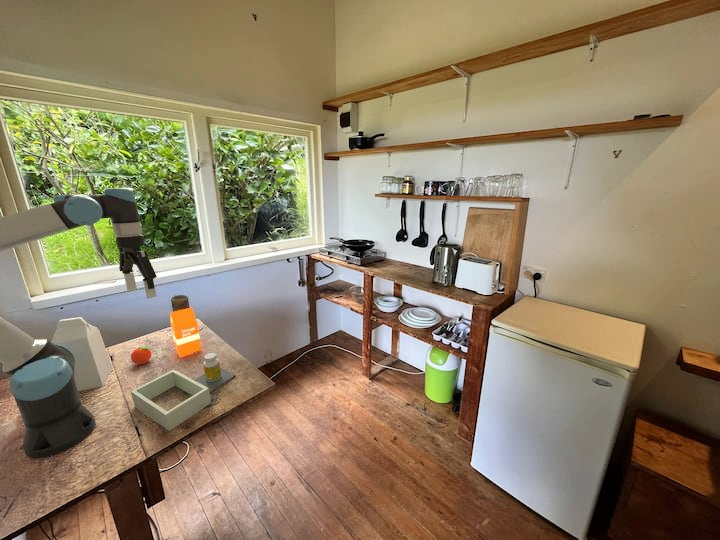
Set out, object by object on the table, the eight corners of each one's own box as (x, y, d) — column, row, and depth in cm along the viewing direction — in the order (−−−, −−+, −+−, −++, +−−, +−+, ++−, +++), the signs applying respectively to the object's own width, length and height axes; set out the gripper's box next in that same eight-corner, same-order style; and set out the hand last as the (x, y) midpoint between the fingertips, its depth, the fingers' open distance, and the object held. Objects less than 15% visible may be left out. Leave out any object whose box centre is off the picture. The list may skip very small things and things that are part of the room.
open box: (169, 431, 90) (165, 414, 89) (134, 406, 100) (130, 391, 99) (211, 402, 102) (208, 388, 100) (176, 383, 112) (173, 369, 110)
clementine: (157, 356, 130) (154, 342, 128) (152, 365, 123) (149, 350, 121) (136, 359, 127) (132, 345, 125) (130, 369, 121) (126, 353, 119)
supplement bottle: (213, 383, 111) (210, 360, 108) (202, 380, 112) (198, 358, 110) (224, 375, 116) (221, 353, 113) (213, 372, 117) (210, 350, 115)
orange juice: (175, 350, 134) (167, 309, 129) (197, 343, 140) (190, 304, 134) (180, 357, 129) (171, 315, 123) (202, 350, 134) (195, 309, 129)
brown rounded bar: (189, 329, 154) (183, 293, 148) (197, 333, 150) (190, 296, 144) (174, 335, 148) (166, 297, 142) (181, 339, 144) (173, 301, 138)
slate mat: (210, 392, 107) (209, 391, 107) (191, 383, 112) (191, 381, 112) (235, 376, 116) (235, 374, 116) (217, 368, 121) (217, 366, 121)
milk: (60, 394, 106) (39, 329, 99) (74, 376, 116) (56, 315, 109) (102, 385, 111) (85, 322, 103) (112, 369, 121) (97, 310, 113)
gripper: (160, 236, 97) (172, 296, 103) (124, 230, 109) (136, 285, 115) (135, 240, 91) (148, 304, 97) (99, 233, 103) (113, 290, 109)
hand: (141, 293), depth 106 cm, fingers open, 13 cm apart
